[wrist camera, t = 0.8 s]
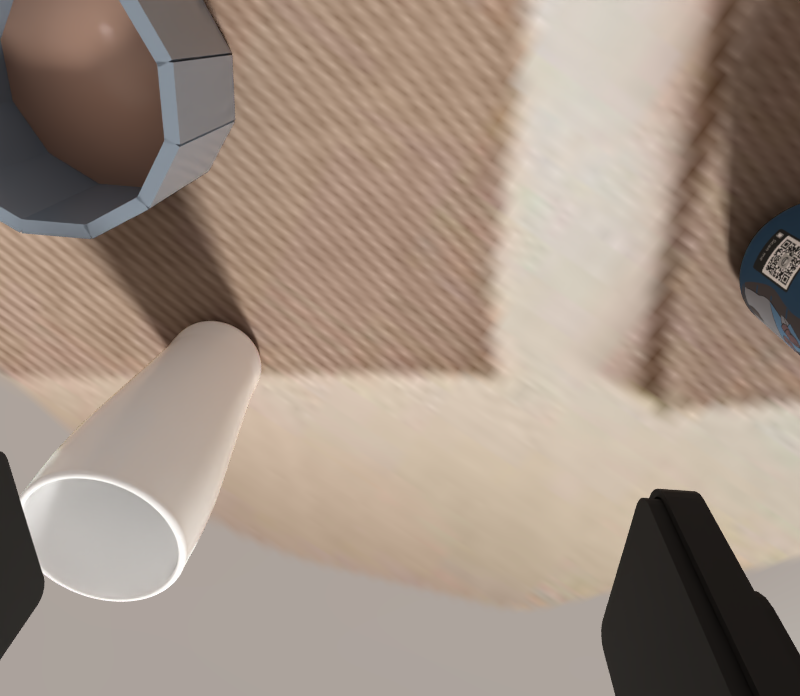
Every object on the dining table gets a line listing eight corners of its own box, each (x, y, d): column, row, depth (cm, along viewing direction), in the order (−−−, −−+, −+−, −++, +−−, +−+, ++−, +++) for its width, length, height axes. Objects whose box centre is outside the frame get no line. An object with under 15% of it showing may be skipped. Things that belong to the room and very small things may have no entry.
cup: (-23, -69, 28) (-168, -100, 21) (227, -49, 28) (161, -73, 21) (27, 185, 33) (-76, 224, 26) (238, 202, 33) (189, 247, 26)
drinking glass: (217, 423, 39) (105, 627, 26) (139, 344, 37) (-29, 523, 24) (299, 370, 37) (223, 561, 24) (221, 283, 35) (89, 440, 22)
